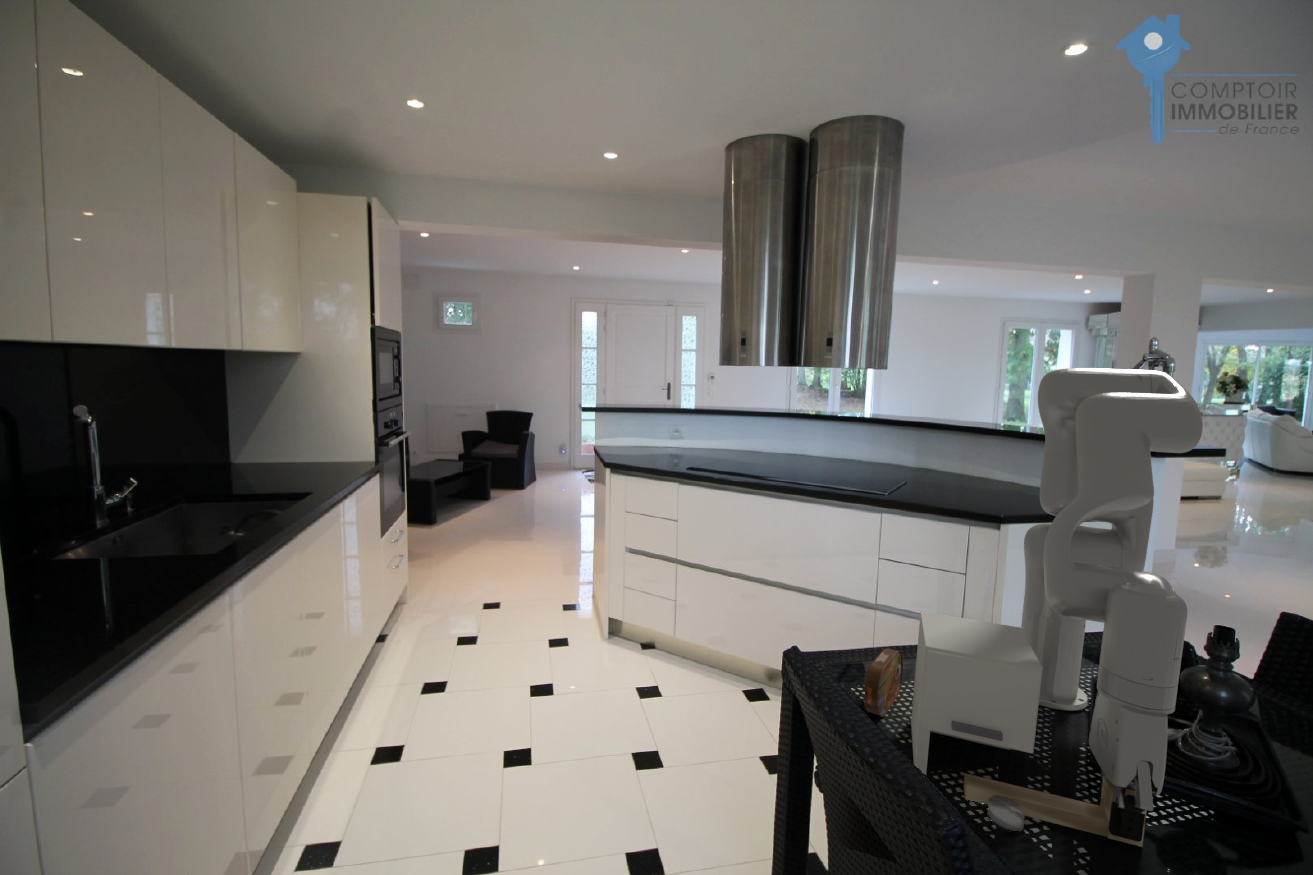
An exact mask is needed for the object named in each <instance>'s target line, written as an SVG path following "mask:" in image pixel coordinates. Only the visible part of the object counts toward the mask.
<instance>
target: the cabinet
mask: <svg viewBox="0 0 1313 875" xmlns="http://www.w3.org/2000/svg"><path fill="white" fill-rule="evenodd" d="M918 625H919V626H918V628H919V629H918V636H917V637H918V639H917V647H916V648H917V649H916V650H917V651H916V658H915V659H916V661H915V673H914V681H913V682H914V685H913V694H912V695H913V696H912V706H911V707H912V708H911V716H910V717H911V718H910V726H911V727H910V728H911V739H912V740H911V742H912V756H913V758H912V759H913V766H914V765H915V766H916V767H917V768H919V769H920V770H921V771H922V773H924V774H925V775H926V776H927V768H928V758H929V747H930V739H931V738H930V737H931V735H930V734H931V733H935V734H938V735H944V736H948V737H952V738H955V739H961V740H966V741H969V742H974V743H978V744H982V745H987V746H991V747H994V748H1000V749H1004V750H1007V751H1008V750H1009V751H1010V750H1015V751H1020V752H1023V753H1024V752H1025V753H1029V754H1031V755H1033V754H1034V748H1035V741H1036V730H1037V722H1038V714H1039V713H1038V712H1039V706H1040V705H1039V696H1040V687H1041V678H1042V669H1043V667H1042V666H1041V664H1040V662H1039V660H1038V658H1037V657H1036V655H1035V653H1034V651H1033V649H1032V648H1031V646H1030V644H1029V642H1028V640H1027V639H1026V637H1025V635H1024V633H1023V631H1022V630H1021V626H1020V627H1018V626H1013V625H1008V624H1001V623H994V622H989V621H982V620H976V619H970V618H964V617H958V616H952V615H947V614H945V615H944V614H939V613H935V612H934V613H933V612H929V611H927V612H926V611H920V616H919V624H918Z"/></svg>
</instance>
